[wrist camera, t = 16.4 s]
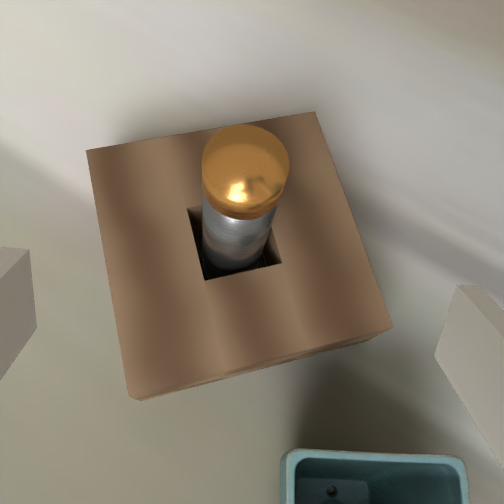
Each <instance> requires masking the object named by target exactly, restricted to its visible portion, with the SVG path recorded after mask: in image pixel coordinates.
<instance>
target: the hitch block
mask: <svg viewBox="0 0 504 504" xmlns="http://www.w3.org/2000/svg"><path fill="white" fill-rule="evenodd" d="M238 125H252V126H257V127H260V128H263V129H265V130H267V131H269V132H270V133H272V134H273V135H274V136H276V137H277V138H278V139H279V140H280V141H281V143H282V144H283V146H284V147H285V149H286V151H287V154H288V157H289V164H290V165H289V173H288V177H287V180H286V183H285V186H284V189H283V192H282V195H281V198H280V201H279V204H278V207H277V210H276V213H275V216H274V219H273V222H272V225H271V228H270V231H269V234H268V237H267V240H266V243H265V246H264V249H263V252H262V253H263V257H264V260H265V264H266V267H264V268H259V269H255V270H250V271H246V272H242V273H237V274H233V275H228V276H224V277H219V278H215V279H211V280H206V281H204V278H203V274H202V269H201V265H200V261H199V257H198V253H197V249H196V245H195V241H194V236H197V235H202V234H203V222H202V155H203V151H204V148H205V146H206V144H207V143H208V141H209V140H210V139H211V138H212V137H213V136H214V135H215V134H216V133H218V132H219V131H221V130H223V129H225V128H227V127H230V126H226V127H220V128H214V129H208V130H202V131H196V132H190V133H184V134H178V135H173V136H167V137H161V138H155V139H149V140H143V141H137V142H131V143H125V144H119V145H113V146H107V147H102V148H96V149H90V150H86V153H87V159H88V164H89V170H90V176H91V182H92V187H93V193H94V199H95V205H96V210H97V216H98V222H99V227H100V233H101V239H102V245H103V250H104V256H105V262H106V267H107V273H108V279H109V285H110V290H111V296H112V302H113V308H114V313H115V319H116V325H117V330H118V336H119V342H120V348H121V353H122V359H123V365H124V370H125V376H126V382H127V388H128V393H129V397H132V398H134V399H137V400H139V401H142V400H146V399H150V398H153V397H157V396H161V395H165V394H168V393H172V392H176V391H180V390H184V389H187V388H191V387H195V386H199V385H202V384H206V383H210V382H214V381H217V380H221V379H225V378H229V377H232V376H236V375H240V374H244V373H247V372H251V371H255V370H259V369H263V368H266V367H270V366H274V365H278V364H281V363H285V362H289V361H293V360H296V359H300V358H304V357H308V356H311V355H315V354H319V353H323V352H326V351H330V350H334V349H338V348H342V347H345V346H349V345H353V344H357V343H360V342H364V341H367V340H369V339H371V338H373V337H375V336H377V335H379V334H381V333H383V332H384V331H386V330H388V329H390V328H392V327H393V325H392V322H391V320H390V317H389V314H388V311H387V309H386V306H385V303H384V300H383V298H382V295H381V292H380V289H379V287H378V284H377V281H376V278H375V276H374V273H373V270H372V267H371V265H370V262H369V259H368V256H367V254H366V251H365V248H364V245H363V243H362V240H361V237H360V234H359V232H358V229H357V226H356V223H355V221H354V218H353V215H352V212H351V210H350V207H349V204H348V201H347V199H346V196H345V193H344V190H343V188H342V185H341V182H340V180H339V177H338V174H337V171H336V169H335V166H334V163H333V160H332V158H331V155H330V152H329V149H328V147H327V144H326V141H325V138H324V136H323V133H322V130H321V127H320V125H319V122H318V119H317V116H316V114H315V112H309V113H303V114H297V115H291V116H285V117H279V118H273V119H267V120H261V121H255V122H249V123H244V124H238ZM232 126H235V125H232Z"/></svg>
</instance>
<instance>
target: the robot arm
mask: <svg viewBox="0 0 504 504" xmlns="http://www.w3.org/2000/svg"><path fill="white" fill-rule="evenodd" d="M36 328H37V324H36V313H35V303H34V293H33V283H32V273H31V263H30V252H29V249H19V248H7V247H2V248H1V249H0V380H1V379H2V377H3V376H4V374H5V373H6V372H7V370H8V369H9V367H10V366H11V364H12V363H13V361H14V360H15V359H16V357H17V356H18V354H19V353H20V351H21V350H22V348H23V347H24V345H25V344H26V343H27V341H28V340H29V338H30V337H31V335H32V334H33V332H34V331H35V330H36ZM434 357H435V359H436V360H437V362H438V364H439V365H440V367H441V368H442V370H443V372H444V373H445V375H446V377H447V378H448V380H449V382H450V383H451V385H452V386H453V388H454V390H455V391H456V393H457V395H458V396H459V398H460V400H461V401H462V403H463V404H464V406H465V408H466V409H467V411H468V413H469V414H470V416H471V417H472V419H473V421H474V422H475V424H476V426H477V427H478V429H479V431H480V432H481V434H482V435H483V437H484V439H485V440H486V442H487V444H488V445H489V447H490V449H491V450H492V452H493V453H494V455H495V457H496V458H497V460H498V462H499V463H500V465H501V467H502V468H503V470H504V311H503V310H502V308H501V307H500V306H499V305H498V304H497V303H496V302H495V301H494V300H493V299H492V298H491V297H490V296H489V295H488V294H487V293H486V292H485V291H484V290H483V289H482V288H481V287H477V286H465V285H457V287H456V290H455V293H454V296H453V299H452V302H451V305H450V308H449V311H448V314H447V318H446V321H445V324H444V327H443V330H442V333H441V336H440V339H439V342H438V345H437V348H436V351H435V355H434Z"/></svg>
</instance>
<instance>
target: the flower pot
mask: <svg viewBox="0 0 504 504" xmlns="http://www.w3.org/2000/svg"><path fill="white" fill-rule="evenodd" d="M330 486H332V487H334V489H335V494H334V495H333V496H330V495H328V493H327V489H328V487H330ZM280 504H470V499H469V486H468V476H467V471H466V466H465V463H464V461H463V460H462V459H461V458H460V457H457V456H454V455H436V454H402V453H374V452H358V451H339V450H320V449H306V448H296V449H292V450H290V451H288V452H286V453H285V454H284V455H283V456H282V458H281V463H280Z"/></svg>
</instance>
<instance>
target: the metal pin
mask: <svg viewBox="0 0 504 504" xmlns="http://www.w3.org/2000/svg"><path fill="white" fill-rule="evenodd" d="M289 165H290V164H289V157H288V154H287V151H286V149H285V147H284V146H283V144H282V143H281V141H280V140H279V139H278V138H277V137H276V136H274V135H273V134H272V133H270V132H269V131H267V130H265V129H263V128H260V127H257V126H252V125H235V126H230V127H227V128H225V129H223V130H221V131H219V132H218V133H216V134H215V135H214V136H213V137H212V138H211V139H210V140H209V141H208V143H207V144H206V146H205V148H204V151H203V155H202V222H203V267H204V271H205V273H206V275H207V276H208V278H209V279H210V280H211V279H215V278H219V277H224V276H228V275H233V274H237V273H242V272H246V271H250V270H255V269H257V267H258V264H259V261H260V258H261V255H262V252H263V249H264V246H265V243H266V240H267V237H268V234H269V231H270V228H271V225H272V222H273V219H274V216H275V213H276V210H277V207H278V204H279V201H280V198H281V195H282V192H283V189H284V186H285V183H286V180H287V177H288V173H289Z"/></svg>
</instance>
